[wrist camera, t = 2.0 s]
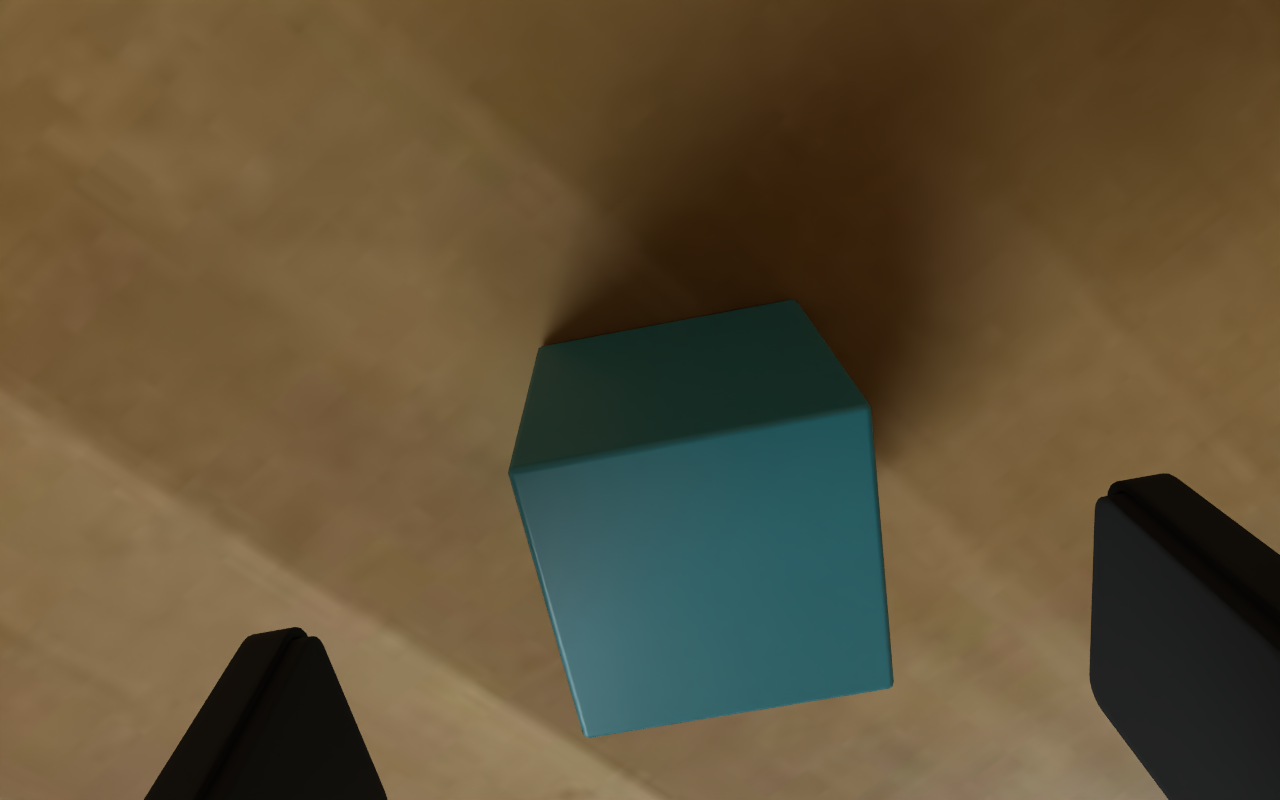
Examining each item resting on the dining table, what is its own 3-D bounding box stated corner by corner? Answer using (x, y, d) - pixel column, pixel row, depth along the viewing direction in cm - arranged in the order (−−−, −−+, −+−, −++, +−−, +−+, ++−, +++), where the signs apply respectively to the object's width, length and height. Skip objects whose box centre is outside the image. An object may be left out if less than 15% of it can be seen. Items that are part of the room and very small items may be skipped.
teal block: (537, 345, 14) (505, 470, 10) (797, 296, 14) (873, 403, 10) (591, 560, 16) (583, 741, 12) (822, 520, 15) (896, 690, 11)
